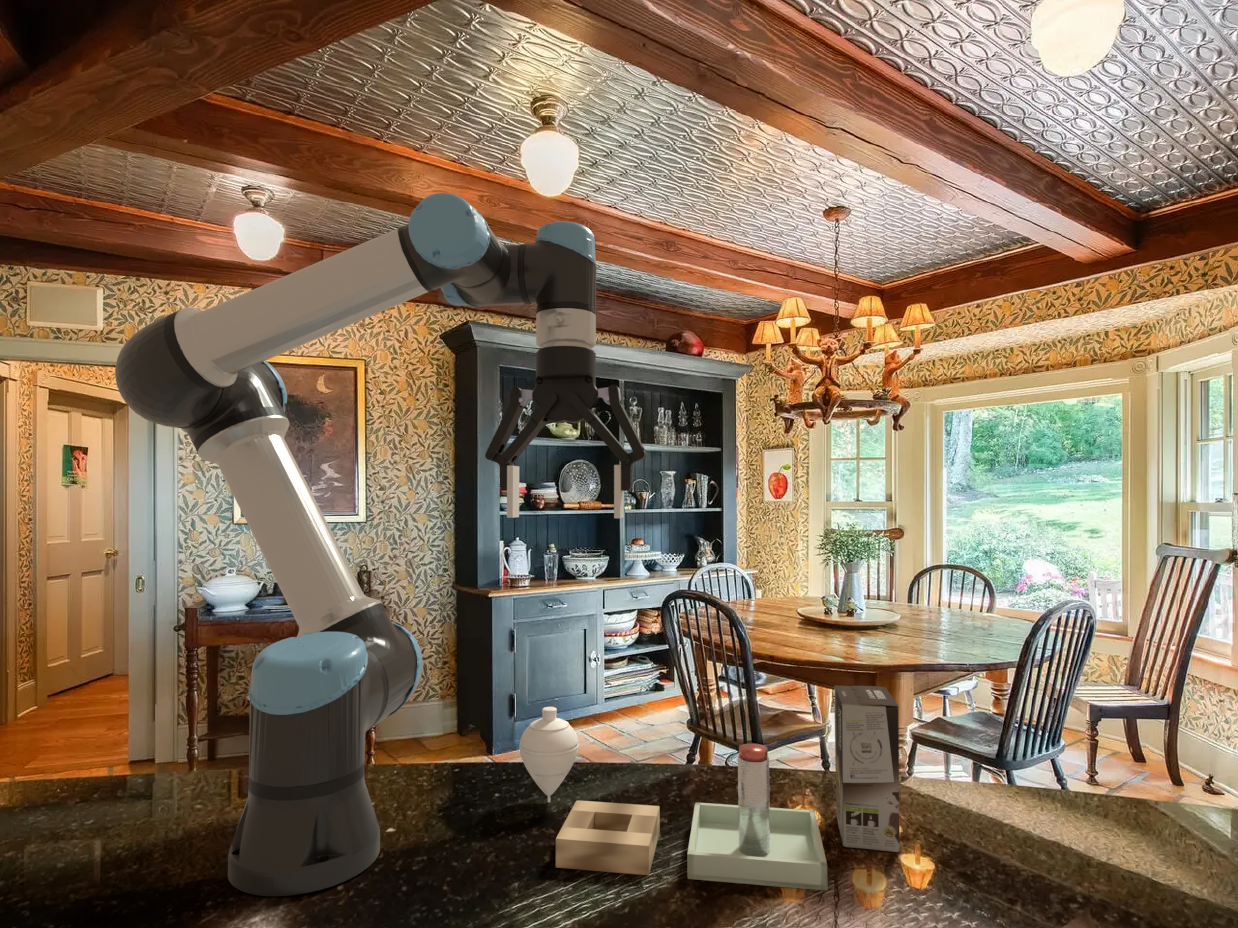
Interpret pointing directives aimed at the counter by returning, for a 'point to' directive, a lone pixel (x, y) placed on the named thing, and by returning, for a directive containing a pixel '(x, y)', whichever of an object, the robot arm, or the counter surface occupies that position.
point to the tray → (721, 860)
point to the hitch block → (609, 837)
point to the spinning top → (549, 750)
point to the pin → (753, 800)
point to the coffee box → (867, 767)
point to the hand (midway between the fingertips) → (565, 518)
